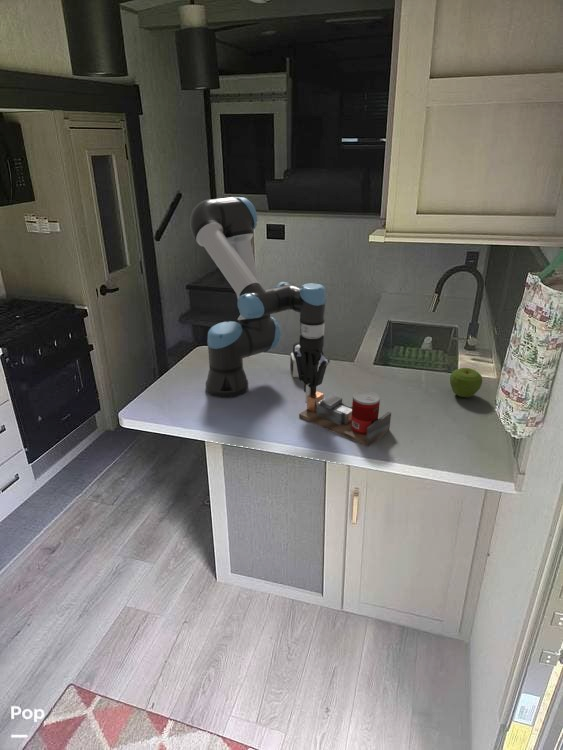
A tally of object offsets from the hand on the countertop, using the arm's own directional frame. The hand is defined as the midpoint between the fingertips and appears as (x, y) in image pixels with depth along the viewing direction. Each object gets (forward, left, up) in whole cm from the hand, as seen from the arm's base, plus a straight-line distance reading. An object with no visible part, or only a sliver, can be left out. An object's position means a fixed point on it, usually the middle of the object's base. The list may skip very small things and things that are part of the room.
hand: (309, 401), depth 169 cm
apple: (+34, +43, -3) cm, 55 cm away
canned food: (+21, 0, -2) cm, 21 cm away
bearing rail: (+13, 0, -3) cm, 14 cm away
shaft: (+8, 0, -1) cm, 8 cm away
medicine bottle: (-20, +20, -3) cm, 28 cm away
